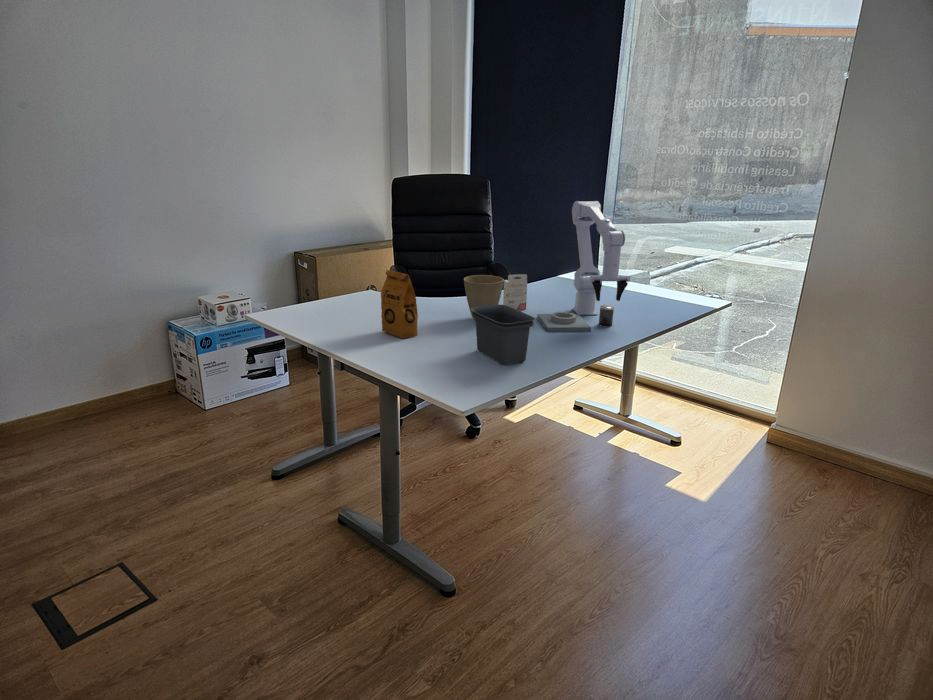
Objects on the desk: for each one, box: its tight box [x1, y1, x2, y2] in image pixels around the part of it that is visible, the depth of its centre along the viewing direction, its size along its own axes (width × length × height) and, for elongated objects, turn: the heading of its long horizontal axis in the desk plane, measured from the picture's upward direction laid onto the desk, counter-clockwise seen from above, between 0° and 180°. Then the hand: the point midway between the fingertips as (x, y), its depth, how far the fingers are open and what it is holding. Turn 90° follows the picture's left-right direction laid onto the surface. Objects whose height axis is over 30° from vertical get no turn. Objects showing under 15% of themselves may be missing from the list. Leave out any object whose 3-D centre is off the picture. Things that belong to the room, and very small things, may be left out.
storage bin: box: [471, 304, 536, 366], centre depth 189 cm, size 21×16×14 cm
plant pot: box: [463, 274, 505, 322], centre depth 226 cm, size 15×15×16 cm
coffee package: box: [380, 269, 419, 340], centre depth 207 cm, size 10×12×22 cm
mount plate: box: [537, 311, 592, 332], centre depth 226 cm, size 18×16×4 cm
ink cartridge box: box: [502, 273, 528, 311], centre depth 243 cm, size 9×5×15 cm, turn 105°
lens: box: [598, 304, 615, 327], centre depth 226 cm, size 5×5×7 cm
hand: (607, 300), depth 224 cm, fingers open, 7 cm apart
